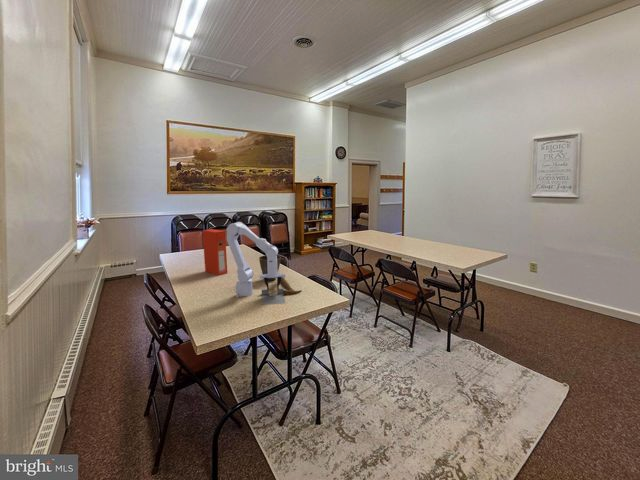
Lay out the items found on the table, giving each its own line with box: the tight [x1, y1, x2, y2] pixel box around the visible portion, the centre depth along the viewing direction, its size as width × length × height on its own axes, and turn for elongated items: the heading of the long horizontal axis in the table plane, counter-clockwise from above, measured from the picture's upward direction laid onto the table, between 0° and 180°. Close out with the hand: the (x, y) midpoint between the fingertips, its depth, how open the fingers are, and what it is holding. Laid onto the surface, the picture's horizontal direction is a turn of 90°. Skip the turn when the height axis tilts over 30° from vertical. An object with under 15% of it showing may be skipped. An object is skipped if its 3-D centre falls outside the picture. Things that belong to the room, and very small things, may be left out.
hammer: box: [280, 278, 302, 296], centre depth 197 cm, size 12×3×30 cm
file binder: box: [202, 228, 228, 276], centre depth 230 cm, size 8×17×32 cm, turn 51°
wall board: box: [261, 287, 286, 306], centre depth 177 cm, size 13×18×4 cm
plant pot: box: [258, 254, 282, 282], centre depth 214 cm, size 15×15×16 cm
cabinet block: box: [268, 282, 277, 294], centre depth 180 cm, size 5×6×5 cm
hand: (272, 289), depth 180 cm, fingers closed on cabinet block, 5 cm apart
